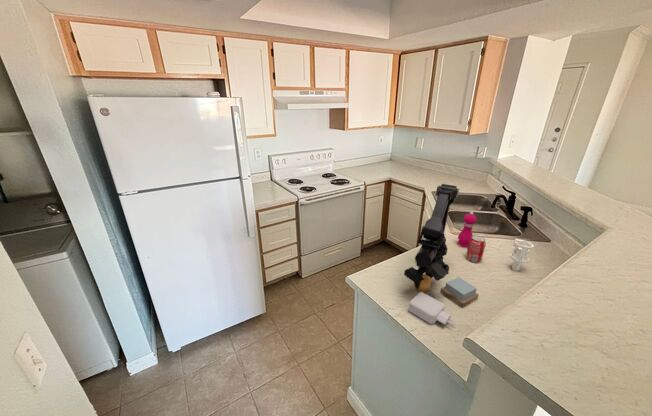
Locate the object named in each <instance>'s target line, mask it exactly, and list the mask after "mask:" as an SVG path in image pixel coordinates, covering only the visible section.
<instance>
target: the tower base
mask: <svg viewBox="0 0 652 416" xmlns="http://www.w3.org/2000/svg"><path fill="white" fill-rule="evenodd" d="M439 293H440V294H441V295H442V296H443V297H445V298H447V299H448V300H450V301H451V302H452V303H454V304H455V305H457V306H458V307H459V308H461V309H463V308H465V307H467V306H468V305H470V304H472V303H474V302H475V301H476V300H478V298H479V293H477V292H476V293H475V295H473V296H471V297H469V298H467V299H465V300H463V301H461V300H460V299H459V298H457V297H456V296H454V295H453V294H452V293H450V292H449V291H447V290H446V289H445V286H442V287H441V288H440V292H439Z"/></svg>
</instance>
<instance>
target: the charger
mask: <svg viewBox="0 0 652 416" xmlns="http://www.w3.org/2000/svg"><path fill="white" fill-rule="evenodd" d="M445 307H446V306H445V304H444V303H443V302H441V301H440V300H437V299H435V298H434V297H432V296H430V295H428V294H426V293H423V292H419V293H418V294H416V295H415V297H414V298H412V299H411V300H410V301H409V304H408V308H407V309H408V311H409V312H410V313H412V314H413V315H415V316H417V317H418V318H419V319H421V320H424V321H425V322H426V323H429V324H430V325H434V324H436V322H437V321H438V322H440V323H441V324H443V325H447V324H449V325H454V323H456V320H454V319H452V314H450V313H448V312H446V311H444V310H445ZM451 321H452V322H451Z"/></svg>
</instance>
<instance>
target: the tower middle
mask: <svg viewBox="0 0 652 416" xmlns="http://www.w3.org/2000/svg"><path fill="white" fill-rule="evenodd" d="M444 287H445V289H446V290H447V291H449V292H450V293H452V294H453V295H454V296H456V297H457V298H459V299H460V300H461V301H463V300H465V299H467V298H469V297H471V296H473V295H475V293H477V290H478V289H477V287H475V285H472V284H471V283H469V282H468V281H466V280H464V279H463V278H461V277H460V276H459V277H456V278H454V279H451V280H449V281H447V282H446V283H445V285H444Z"/></svg>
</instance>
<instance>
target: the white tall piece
mask: <svg viewBox="0 0 652 416" xmlns="http://www.w3.org/2000/svg"><path fill="white" fill-rule="evenodd" d="M519 243H521V244H519ZM528 245H529V246H528ZM513 247H514V249H513V251H512V252H511V253H510V255H509V258H510V259H511V260H512V261H513V263H512V265H511V269H512V270H513V271H518V272H519V271H520V269H521V266H522V264H527V263H528V262H529V254H530V250H533V248H534V244H533V243H531V242H530V241H528V240H525V239H518V238H515V239H514V243H513Z"/></svg>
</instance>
